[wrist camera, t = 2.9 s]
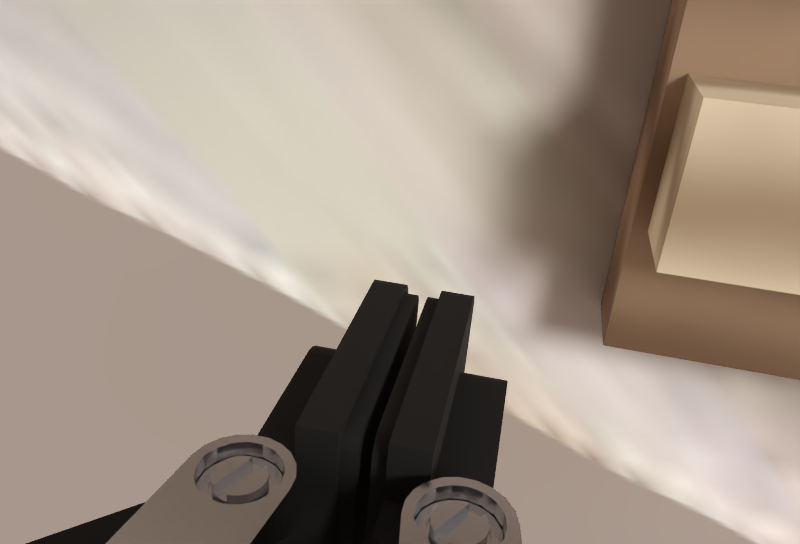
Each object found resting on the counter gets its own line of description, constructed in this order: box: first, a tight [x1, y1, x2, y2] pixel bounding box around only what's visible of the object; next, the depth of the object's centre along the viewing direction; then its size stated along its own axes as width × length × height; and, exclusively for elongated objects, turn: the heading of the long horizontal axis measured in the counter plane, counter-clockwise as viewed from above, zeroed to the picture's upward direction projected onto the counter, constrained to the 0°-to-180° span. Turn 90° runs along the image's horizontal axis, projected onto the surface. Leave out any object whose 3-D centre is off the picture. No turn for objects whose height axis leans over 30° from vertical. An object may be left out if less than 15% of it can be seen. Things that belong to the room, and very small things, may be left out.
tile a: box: [648, 74, 800, 295], centre depth 20 cm, size 5×5×3 cm
